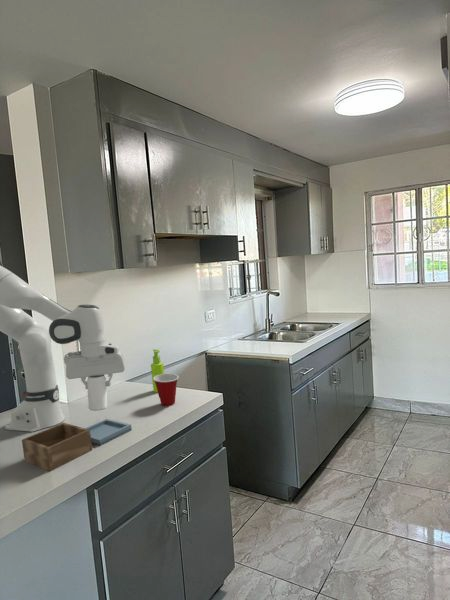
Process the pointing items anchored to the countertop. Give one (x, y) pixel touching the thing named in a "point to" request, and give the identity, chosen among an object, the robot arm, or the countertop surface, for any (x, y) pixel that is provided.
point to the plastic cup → (166, 388)
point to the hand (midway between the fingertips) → (98, 387)
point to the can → (97, 392)
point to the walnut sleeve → (56, 446)
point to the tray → (107, 431)
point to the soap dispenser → (156, 367)
